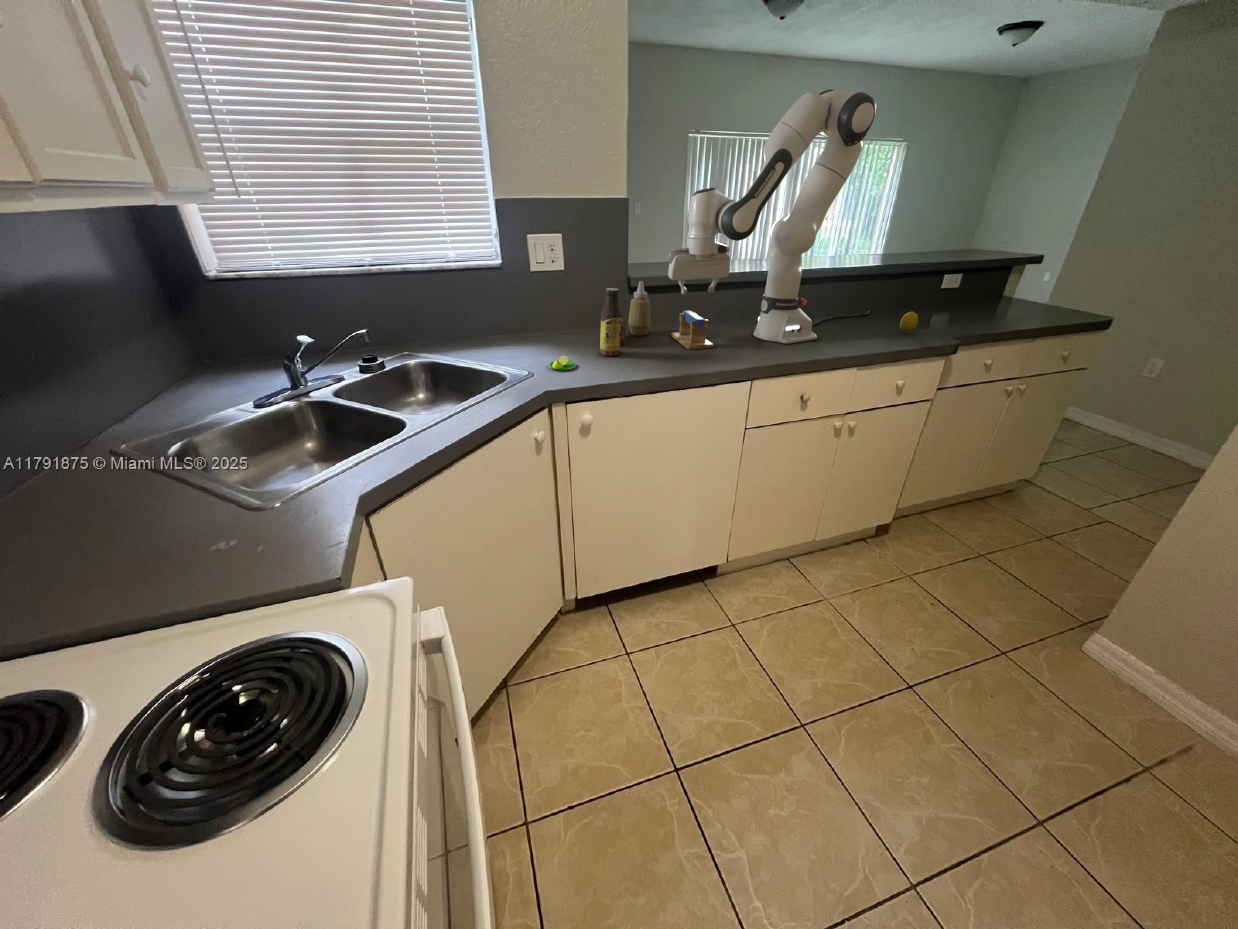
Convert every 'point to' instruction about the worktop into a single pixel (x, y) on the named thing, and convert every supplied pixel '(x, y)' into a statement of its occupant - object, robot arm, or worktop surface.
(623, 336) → the tin
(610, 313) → the sauce bottle
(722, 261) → the robot arm
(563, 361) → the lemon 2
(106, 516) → the worktop surface
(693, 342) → the holder
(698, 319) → the handle
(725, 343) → the worktop surface
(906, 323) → the lemon
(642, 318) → the squeeze bottle
